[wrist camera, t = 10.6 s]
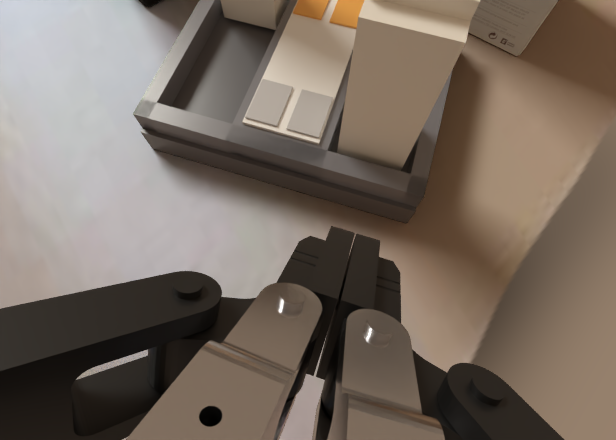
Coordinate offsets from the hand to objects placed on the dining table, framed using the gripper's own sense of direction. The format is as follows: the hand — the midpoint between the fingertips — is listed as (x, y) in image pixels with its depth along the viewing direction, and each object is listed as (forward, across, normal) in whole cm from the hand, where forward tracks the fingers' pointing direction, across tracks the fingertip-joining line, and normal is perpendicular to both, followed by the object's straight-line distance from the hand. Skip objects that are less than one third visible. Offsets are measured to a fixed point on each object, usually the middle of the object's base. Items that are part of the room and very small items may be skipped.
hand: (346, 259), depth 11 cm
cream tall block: (+14, 0, -1) cm, 14 cm away
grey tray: (+19, +6, -2) cm, 20 cm away
